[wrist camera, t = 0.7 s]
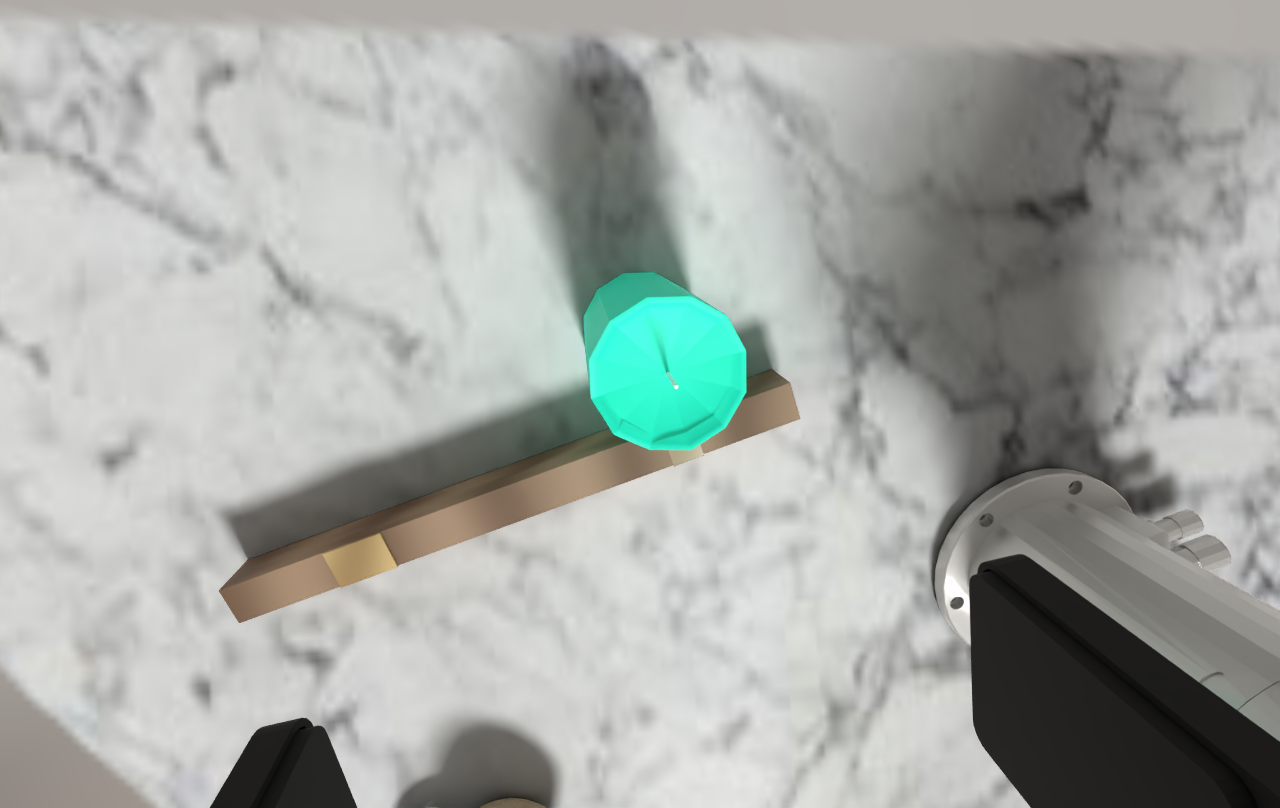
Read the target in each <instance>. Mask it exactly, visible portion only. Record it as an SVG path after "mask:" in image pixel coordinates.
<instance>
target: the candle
mask: <svg viewBox="0 0 1280 808" xmlns="http://www.w3.org/2000/svg"><path fill="white" fill-rule="evenodd" d="M583 322H584V341H585V353H586V361H587V370H588V378H589V387H590V395H591V400H592V401H593V403H594V404H595V406H596V407H597V409H598V411H599V412H600V414H601V415H602V417H603V418H604V420H605V422H606V423H607V425H608V426H609V428H610V430H611V431H612V433H613V434H614V435H615V436H618V437H620V438H623V439H625V440H627V441H630V442H632V443H634V444H637V445H639V446H642V447H644V448H646V449H649V450H693V449H694V448H696V447H697V446H699V445H700V444H702V443H703V442H705V441H706V440H708V439H709V438H711V437H712V436H714V435H716V434H717V433H719V432H720V431H722V430H723V429H725V428H726V427H727V425H728V423H729V421H730V420H731V418H732V416H733V415H734V413H735V411H736V409H737V408H738V406H739V404H740V402H741V401H742V399H743V397H744V395H745V394H746V349H745V347H744V346H743V344H742V342H741V340H740V338H739V336H738V335H737V333H736V331H735V329H734V327H733V326H732V324H731V322H730V320H729V318H728V317H727V315H725V314H724V313H722V312H720V311H719V310H717V309H716V308H714V307H712V306H711V305H709V304H708V303H706V302H704V301H703V300H701V299H700V298H698V297H696V296H695V295H693V294H692V293H690V292H688V291H687V290H685V289H684V288H682V287H680V286H679V285H677V284H675V283H673V282H671V281H669V280H668V279H666V278H664V277H662V276H660V275H658V274H657V273H655V272H637V273H622V274H621V275H619V276H618V277H616V278H615V279H613V280H611V281H610V282H608V283H607V284H605V285H604V286H602V287H600V288H599V289H597V291H596V293H595V295H594V297H593V299H592V301H591V303H590V305H589V306H588V308H587V310H586V312H585V314H584V316H583Z"/></svg>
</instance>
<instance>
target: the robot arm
mask: <svg viewBox="0 0 1280 808" xmlns="http://www.w3.org/2000/svg"><path fill="white" fill-rule="evenodd" d="M1203 528H1204V525H1203V522H1202V520H1201V519H1200V517H1199V516H1198V515H1197V514H1196V513H1194V512H1193V511H1191V510H1187V509H1186V510H1183V511H1181V512H1178V513H1175V514H1173V515H1170V516H1167V517H1165V518H1163V519H1162V520H1160V521H1157V522H1152V521H1150V520H1144V519H1142V518H1140V517H1138V516H1136V515H1134V513H1133V512H1132V510H1131V508H1130V507H1129V505H1128V503H1127V501H1126V500H1125V499H1124V498H1123V497H1122V496H1121V495H1120V494H1119V493H1118V492H1117V491H1116V490H1115V489H1113V488H1112V487H1110V486H1108V485H1107V484H1105V483H1103V482H1102V481H1100V480H1098V479H1096V478H1093V477H1091V476H1089V475H1087V474H1085V473H1082V472H1078V471H1073V470H1069V469H1041V470H1035V471H1030V472H1025V473H1022V474H1020V475H1017V476H1014V477H1012V478H1009V479H1006V480H1005V481H1003V482H1001V483H999V484H998V485H996V486H994V487H992V488H990V489H989V490H988V491H986V492H985V493H984V494H982V495H981V496H980V497H979V498H977V499H976V500H975V501H974V502H972V503H971V505H970V506H969V507H968V508H967V509H966V510H965V511H964V512H963V513H962V514H961V515H960V516H959V518H958V519H957V521H956V522H955V524H954V525H953V527H952V528H951V530H950V531H949V533H948V534H947V536H946V539H945V541H944V543H943V545H942V548H941V550H940V552H939V556H938V561H937V565H936V569H935V592H936V597H937V603H938V605H939V608H940V610H941V612H942V615H943V617H944V619H945V620H946V621H947V623H948V624H949V625H950V627H951V628H952V629H953V630H954V631H955V632H956V633H957V634H958V635H959V636H960V637H961V638H962V639H963V640H964V641H965V643H967V644H968V645H970V646H971V671H972V705H973V723H974V728H975V731H976V734H977V736H978V738H979V740H980V742H981V744H982V746H983V747H984V749H985V750H986V751H987V753H988V754H989V755H990V756H991V758H992V759H993V760H994V761H995V763H996V764H997V765H998V766H999V768H1000V769H1001V770H1002V772H1003V773H1004V774H1005V775H1006V777H1007V778H1008V779H1009V780H1010V782H1011V783H1012V784H1013V785H1014V787H1015V788H1016V789H1017V791H1018V792H1019V793H1020V794H1021V796H1022V797H1023V798H1024V799H1025V801H1026V802H1027V803H1028V804H1029V806H1030V807H1031V808H1280V611H1279V610H1277V609H1275V608H1274V607H1272V606H1270V605H1268V604H1266V603H1265V602H1263V601H1261V600H1259V599H1257V598H1256V597H1254V596H1252V595H1250V594H1248V593H1247V592H1245V591H1243V590H1241V589H1239V588H1238V587H1236V586H1234V585H1232V584H1230V583H1228V582H1227V581H1225V580H1223V579H1221V578H1219V577H1218V576H1216V575H1214V574H1212V573H1210V572H1212V571H1214V570H1217V569H1220V568H1223V567H1225V566H1227V565H1229V564H1230V563H1231V555H1230V553H1229V551H1228V549H1227V547H1226V546H1225V545H1224V544H1223V543H1222V542H1221V541H1220V540H1219V539H1217V538H1216V537H1214V536H1211V535H1204V536H1201V537H1198V538H1195V539H1193V540H1190V541H1187V542H1184V543H1182V544H1179V545H1176V546H1174V548H1173V549H1170V546H1169V542H1170V541H1173V540H1176V539H1178V540H1180V539H1182V538H1185V537H1188V536H1190V535H1193V534H1196V533H1199V532H1201V531H1203ZM210 808H357V806H356V803H355V801H354V798H353V796H352V793H351V791H350V789H349V786H348V784H347V781H346V779H345V776H344V774H343V771H342V769H341V766H340V764H339V761H338V759H337V757H336V754H335V752H334V749H333V747H332V744H331V742H330V739H329V737H328V734H327V732H326V730H325V729H324V728H323V727H322V726H313V725H312V723H311V721H309V720H308V719H307V718H299V719H295V720H291V721H286V722H282V723H277V724H273V725H269V726H264V727H261V728H260V729H258V730H257V731H256V732H255V733H254V735H253V736H252V737H251V739H250V741H249V742H248V744H247V746H246V747H245V749H244V751H243V753H242V754H241V756H240V758H239V759H238V761H237V763H236V764H235V766H234V768H233V769H232V771H231V773H230V775H229V776H228V778H227V780H226V781H225V783H224V785H223V786H222V788H221V790H220V791H219V793H218V795H217V797H216V798H215V800H214V802H213V803H212V805H211V807H210Z"/></svg>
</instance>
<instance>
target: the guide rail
mask: <svg viewBox="0 0 1280 808" xmlns="http://www.w3.org/2000/svg"><path fill="white" fill-rule="evenodd" d="M798 419H800V416H799V413H798V409H797V406H796V402H795V398H794V395H793V391H792V388H791V384H790V382H788V381H787V380H786V379H784V378H783V377H782V376H780V375H779V374H778V373H776V372H775V371H774V370H772V369H771V370H768V371H766V372H763V373H760V374H757V375H755V376H752V377H749V378H746V394H745V395H744V397H743V399H742V401H741V402H740V404H739V406H738V408H737V409H736V411H735V413H734V415H733V416H732V418H731V420H730V421H729V423H728V425H727V427H726V428H725V429H723V430H722V431H720V432H719V433H717V434H716V435H714V436H712V437H711V438H709V439H708V440H706V441H705V442H703V443H702V444H700V445H699V446H697V447H696V448H694V449H693V450H649V449H646V448H644V447H642V446H639V445H637V444H634V443H632V442H630V441H627V440H625V439H623V438H620V437H618V436H615V435H614V434H613V433H612V431H611V430H610V428H609V429H606V430H603V431H601V432H598V433H595V434H592V435H590V436H587V437H584V438H581V439H579V440H576V441H573V442H570V443H568V444H565V445H562V446H559V447H557V448H554V449H551V450H548V451H546V452H543V453H540V454H538V455H535V456H532V457H529V458H527V459H524V460H521V461H518V462H516V463H513V464H510V465H507V466H505V467H502V468H499V469H496V470H494V471H491V472H488V473H485V474H483V475H480V476H477V477H474V478H472V479H469V480H466V481H463V482H461V483H458V484H455V485H452V486H450V487H447V488H444V489H441V490H439V491H436V492H433V493H430V494H428V495H425V496H422V497H419V498H417V499H414V500H411V501H408V502H406V503H403V504H400V505H397V506H395V507H392V508H389V509H386V510H384V511H381V512H378V513H375V514H373V515H370V516H367V517H364V518H362V519H359V520H356V521H353V522H351V523H348V524H345V525H342V526H340V527H337V528H334V529H331V530H329V531H326V532H323V533H320V534H318V535H315V536H312V537H309V538H307V539H304V540H301V541H299V542H296V543H293V544H290V545H288V546H285V547H282V548H279V549H277V550H274V551H271V552H268V553H266V554H263V555H260V556H257V557H255V558H252V559H249V560H247V561H246V562H245V563H244V564H243V565H242V566H241V568H240V569H239V570H238V571H237V572H236V573H235V574H234V575H233V576H232V577H231V578H230V579H229V580H228V581H227V582H226V583H225V585H224V586H223V587H222V588H221V589H220V590H219V592H220V594H221V595H222V597H223V598H224V600H225V602H226V603H227V605H228V606H229V608H230V609H231V611H232V613H233V614H234V616H235V617H236V619H237V620H238V622H239V623H241V622H244V621H247V620H249V619H252V618H255V617H258V616H260V615H263V614H266V613H269V612H271V611H274V610H277V609H280V608H282V607H285V606H288V605H291V604H293V603H296V602H299V601H302V600H304V599H307V598H310V597H312V596H315V595H318V594H321V593H323V592H326V591H329V590H332V589H334V588H337V587H341V588H342V587H345V586H347V585H350V584H353V583H356V582H358V581H361V580H364V579H367V578H369V577H372V576H375V575H377V574H380V573H383V572H386V571H388V570H391V569H394V568H397V567H398V565H400V564H403V563H406V562H409V561H411V560H414V559H417V558H420V557H422V556H425V555H428V554H430V553H433V552H436V551H439V550H441V549H444V548H447V547H450V546H452V545H455V544H458V543H461V542H463V541H466V540H469V539H472V538H474V537H477V536H480V535H483V534H485V533H488V532H491V531H494V530H496V529H499V528H502V527H505V526H507V525H510V524H513V523H516V522H518V521H521V520H524V519H527V518H529V517H532V516H535V515H538V514H540V513H543V512H546V511H549V510H551V509H554V508H557V507H559V506H562V505H565V504H568V503H570V502H573V501H576V500H579V499H581V498H584V497H587V496H590V495H592V494H595V493H598V492H601V491H603V490H606V489H609V488H612V487H614V486H617V485H620V484H623V483H625V482H628V481H631V480H634V479H636V478H639V477H642V476H645V475H647V474H650V473H653V472H656V471H658V470H661V469H664V468H667V467H669V466H672V465H674V466H677V465H679V464H682V463H685V462H688V461H690V460H693V459H696V458H699V457H701V456H704V454H705V453H708V452H710V451H713V450H716V449H719V448H721V447H724V446H727V445H730V444H732V443H735V442H738V441H741V440H743V439H746V438H749V437H752V436H754V435H757V434H760V433H763V432H765V431H768V430H771V429H774V428H776V427H779V426H782V425H785V424H787V423H790V422H793V421H796V420H798Z"/></svg>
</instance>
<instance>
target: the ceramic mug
mask: <svg viewBox="0 0 1280 808" xmlns="http://www.w3.org/2000/svg"><path fill="white" fill-rule="evenodd" d="M427 808H440V807H438V806H433V807H427ZM480 808H546V807H545V806H543V805H541V804H539V803H536V802H533V801H530V800H527V799H520V798H506V799H500V800H495V801H492V802H489V803H487V804H485V805H483V806H481V807H480Z"/></svg>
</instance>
